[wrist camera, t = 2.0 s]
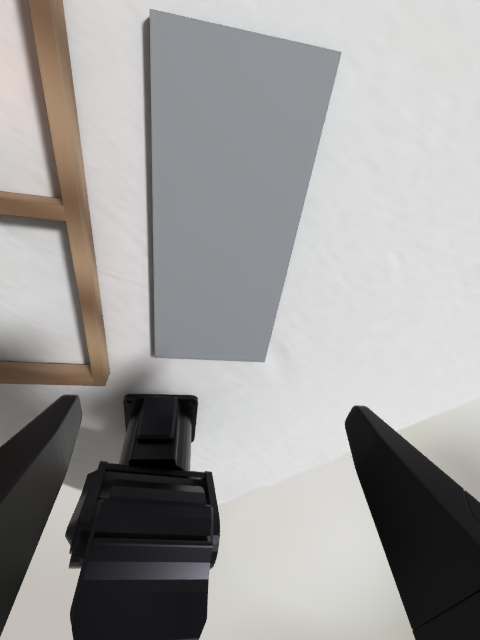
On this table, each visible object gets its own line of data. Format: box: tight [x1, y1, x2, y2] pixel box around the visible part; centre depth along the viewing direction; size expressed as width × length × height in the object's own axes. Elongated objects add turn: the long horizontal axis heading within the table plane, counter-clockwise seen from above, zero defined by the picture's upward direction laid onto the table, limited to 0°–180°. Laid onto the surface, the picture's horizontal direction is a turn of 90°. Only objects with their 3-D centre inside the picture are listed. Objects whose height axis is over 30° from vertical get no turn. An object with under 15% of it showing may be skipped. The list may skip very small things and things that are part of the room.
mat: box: [150, 9, 341, 362], centre depth 19 cm, size 20×9×1 cm, turn 172°
